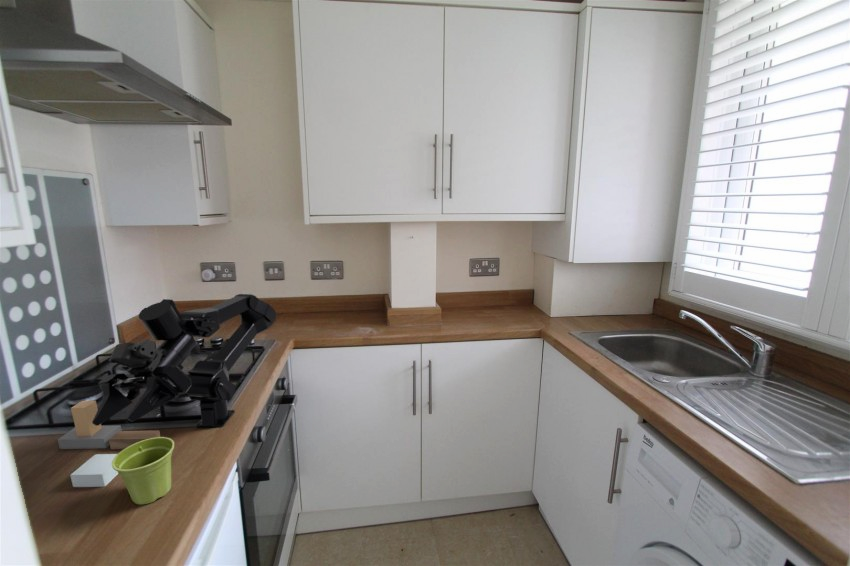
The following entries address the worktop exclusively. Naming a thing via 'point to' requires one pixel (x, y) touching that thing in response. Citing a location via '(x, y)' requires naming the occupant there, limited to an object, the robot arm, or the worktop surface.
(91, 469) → the tile
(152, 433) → the stop bar
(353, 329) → the worktop surface
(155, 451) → the plant pot
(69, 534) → the worktop surface
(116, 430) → the tan block grey base
